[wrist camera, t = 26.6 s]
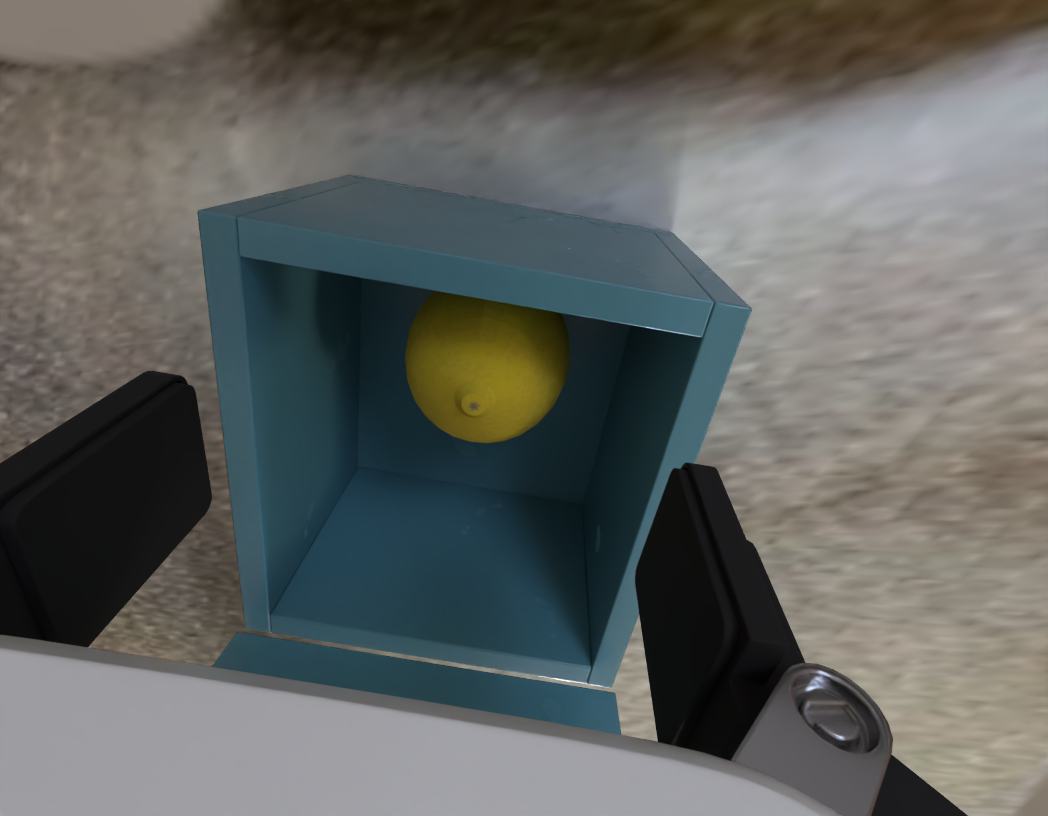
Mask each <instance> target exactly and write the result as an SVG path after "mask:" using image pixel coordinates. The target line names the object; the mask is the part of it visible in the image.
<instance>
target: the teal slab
mask: <svg viewBox="0 0 1048 816" xmlns="http://www.w3.org/2000/svg"><path fill="white" fill-rule="evenodd" d="M212 667H217V668H223V669H229V670H235V671H242V672H248V673H254V674H260V675H267V676H273V677H279V678H285V679H292V680H298V681H304V682H310V683H317V684H323V685H329V686H335V687H341V688H348V689H354V690H360V691H366V692H372V693H378V694H385V695H391V696H397V697H403V698H409V699H415V700H421V701H427V702H433V703H439V704H445V705H451V706H457V707H463V708H469V709H475V710H481V711H487V712H493V713H499V714H505V715H511V716H517V717H523V718H529V719H535V720H541V721H547V722H553V723H559V724H564V725H570V726H575V727H581V728H586V729H591V730H597V731H602V732H608V733H613V734H619V735H621V729H620V722H619V715H618V708H617V701H616V695H615V693H613V692H607V691H600V690H594V689H588V688H582V687H576V686H569V685H563V684H557V683H551V682H545V681H538V680H532V679H526V678H520V677H514V676H507V675H501V674H495V673H489V672H483V671H476V670H470V669H464V668H458V667H452V666H445V665H439V664H433V663H427V662H421V661H414V660H408V659H402V658H396V657H390V656H383V655H377V654H371V653H365V652H359V651H352V650H346V649H340V648H334V647H328V646H321V645H315V644H309V643H303V642H297V641H290V640H284V639H278V638H272V637H266V636H259V635H253V634H247V633H241V632H237V633H236V635H235V636H234V638H233V639H232V640H231V642H230V643H229V644H228V646H227V647H226V648H225V650H224V651H223V652H222V654H221V655H220V656H219V658H218V659H217V661H216V662H215V663H214V665H213V666H212Z"/></svg>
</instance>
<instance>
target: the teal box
mask: <svg viewBox="0 0 1048 816" xmlns="http://www.w3.org/2000/svg"><path fill="white" fill-rule="evenodd" d="M198 221H199V230H200V239H201V248H202V256H203V265H204V274H205V282H206V291H207V300H208V308H209V317H210V326H211V334H212V343H213V352H214V361H215V369H216V378H217V387H218V395H219V404H220V413H221V421H222V430H223V439H224V448H225V456H226V465H227V474H228V482H229V491H230V500H231V508H232V517H233V526H234V535H235V543H236V552H237V561H238V569H239V578H240V587H241V595H242V604H243V613H244V621H245V628H246V629H250V630H256V631H262V632H272V633H274V634H281V635H287V636H293V637H299V638H305V639H312V640H318V641H324V642H330V643H336V644H343V645H349V646H355V647H361V648H367V649H373V650H380V651H386V652H392V653H398V654H404V655H411V656H417V657H423V658H429V659H435V660H442V661H448V662H454V663H460V664H466V665H473V666H479V667H485V668H491V669H497V670H504V671H510V672H516V673H522V674H528V675H534V676H541V677H547V678H553V679H559V680H565V681H572V682H578V683H584V684H585V683H586V682H587V684H589V685H596V686H602V687H608V688H612V686H613V683H614V680H615V677H616V675H617V672H618V669H619V667H620V664H621V661H622V659H623V656H624V653H625V650H626V648H627V645H628V642H629V640H630V637H631V634H632V632H633V629H634V626H635V624H636V621H637V618H638V615H639V608H638V601H637V594H636V588H635V572H636V567H637V564H638V561H639V558H640V556H641V553H642V550H643V547H644V545H645V542H646V539H647V536H648V534H649V531H650V528H651V525H652V523H653V520H654V517H655V514H656V511H657V509H658V506H659V503H660V500H661V498H662V495H663V492H664V489H665V487H666V484H667V481H668V478H669V476H670V473H671V471H672V470H673V468H679V469H681V467H682V466H683V464H684V463H686V462H687V463H693V464H695V462H696V459H697V456H698V454H699V451H700V448H701V446H702V443H703V440H704V437H705V435H706V432H707V429H708V427H709V424H710V421H711V419H712V416H713V413H714V410H715V408H716V405H717V402H718V400H719V397H720V394H721V392H722V389H723V386H724V384H725V381H726V378H727V375H728V373H729V370H730V367H731V365H732V362H733V359H734V357H735V354H736V351H737V348H738V346H739V343H740V340H741V338H742V335H743V332H744V330H745V327H746V324H747V322H748V319H749V316H750V313H751V311H752V308H751V307H750V306H749V305H748V304H746V303H745V302H744V301H743V300H742V299H741V298H740V297H739V296H738V295H737V294H736V293H735V292H734V291H733V290H732V289H731V288H730V287H729V286H728V285H727V284H726V283H725V282H724V281H723V280H722V279H720V278H719V277H718V276H717V275H716V274H715V273H714V272H713V271H712V270H711V269H710V268H709V267H708V266H707V265H706V264H705V263H704V262H703V261H702V260H701V259H700V258H699V257H698V256H697V255H695V254H694V253H693V252H692V251H691V250H690V249H689V248H688V247H687V246H686V245H685V244H684V243H683V242H682V241H681V240H680V239H679V238H678V237H677V236H676V235H675V234H674V233H671V232H665V231H660V230H654V229H649V228H643V227H637V226H632V225H626V224H621V223H615V222H610V221H604V220H599V219H593V218H587V217H582V216H576V215H571V214H565V213H560V212H554V211H548V210H543V209H537V208H532V207H526V206H521V205H515V204H509V203H504V202H498V201H493V200H487V199H482V198H476V197H471V196H465V195H459V194H454V193H448V192H443V191H437V190H432V189H426V188H420V187H415V186H409V185H404V184H398V183H393V182H387V181H382V180H376V179H370V178H365V177H359V176H354V175H346V176H342V177H339V178H334V179H330V180H326V181H322V182H317V183H313V184H309V185H304V186H300V187H296V188H292V189H287V190H283V191H279V192H275V193H270V194H266V195H262V196H258V197H253V198H249V199H245V200H240V201H236V202H232V203H228V204H223V205H219V206H215V207H211V208H206V209H202V210H199V211H198ZM434 291H440V292H445V293H451V294H457V295H462V296H468V297H474V298H480V299H485V300H491V301H497V302H502V303H508V304H514V305H519V306H525V307H531V308H536V309H542V310H548V311H553V312H559V313H561V314H562V317H563V320H564V322H565V325H566V328H567V331H568V334H569V346H570V362H569V367H568V372H567V377H566V381H565V384H564V386H563V388H562V390H561V392H560V394H559V396H558V398H557V400H556V403H555V404H554V406H553V407H552V408H551V410H550V411H549V412H548V413H547V414H546V415H545V416H544V417H543V419H542V420H541V421H540V422H539V423H538V424H537V425H535V426H534V427H532V428H531V429H529V430H528V431H526V432H525V433H523V434H522V435H520V436H517V437H514V438H512V439H509V440H506V441H501V442H493V443H479V442H469V441H466V440H463V439H460V438H456V437H453V436H452V435H450V434H448V433H446V432H445V431H443V430H441V429H440V428H438V427H437V426H436V425H435V424H434V423H433V422H432V421H430V420H429V419H428V418H427V417H426V416H425V415H424V413H423V412H422V410H421V409H420V408H419V406H418V405H417V403H416V402H415V400H414V397H413V395H412V392H411V389H410V386H409V384H408V381H407V372H406V361H405V353H406V347H407V342H408V336H409V330H410V327H411V325H412V323H413V321H414V319H415V317H416V315H417V313H418V311H419V309H420V307H421V305H422V304H423V303H424V302H425V301H426V300H427V298H428V297H429V296H430V295H431V294H432V293H433V292H434Z"/></svg>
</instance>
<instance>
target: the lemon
mask: <svg viewBox="0 0 1048 816" xmlns="http://www.w3.org/2000/svg"><path fill="white" fill-rule="evenodd" d="M405 361H406V372H407V381H408V384H409V386H410V389H411V392H412V395H413V397H414V400H415V402H416V403H417V405H418V406H419V408H420V409H421V410H422V412H423V413H424V415H425V416H426V417H427V418H428V419H429V420H430V421H432V422H433V423H434V424H435V425H436V426H437V427H438V428H440V429H441V430H443V431H445V432H446V433H448V434H450V435H452V436H453V437H456V438H460V439H463V440H466V441H469V442H479V443H493V442H501V441H506V440H509V439H512V438H514V437H517V436H520V435H522V434H523V433H525V432H526V431H528V430H529V429H531V428H532V427H534V426H535V425H537V424H538V423H539V422H540V421H541V420H542V419H543V417H544V416H545V415H546V414H547V413H548V412H549V411H550V410H551V408H552V407H553V406H554V404H555V403H556V400H557V398H558V396H559V394H560V392H561V390H562V388H563V386H564V384H565V381H566V377H567V372H568V367H569V362H570V346H569V334H568V331H567V328H566V325H565V322H564V320H563V317H562V314H561V313H559V312H553V311H548V310H542V309H536V308H531V307H525V306H519V305H514V304H508V303H502V302H497V301H491V300H485V299H480V298H474V297H468V296H462V295H457V294H451V293H445V292H440V291H434V292H433V293H432V294H431V295H430V296H429V297H428V298H427V300H426V301H425V302H424V303H423V304H422V305H421V307H420V309H419V311H418V313H417V315H416V317H415V319H414V321H413V323H412V325H411V327H410V330H409V336H408V342H407V347H406V353H405Z"/></svg>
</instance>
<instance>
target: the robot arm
mask: <svg viewBox="0 0 1048 816" xmlns="http://www.w3.org/2000/svg"><path fill="white" fill-rule="evenodd" d="M211 499H212V493H211V486H210V480H209V474H208V467H207V461H206V455H205V449H204V442H203V436H202V430H201V423H200V417H199V411H198V404H197V398H196V392H195V389H194V388H193V386H191V385H188V383H187V381H186V379H185V378H184V377H182V376H179V375H173V374H168V373H162V372H156V371H147V372H144V373H142V374H141V375H139V376H138V377H136V378H134V379H133V380H131V381H130V382H128V383H126V384H125V385H123V386H122V387H120V388H119V389H117V390H115V391H114V392H112V393H111V394H109V395H108V396H106V397H104V398H103V399H101V400H100V401H98V402H96V403H95V404H93V405H92V406H90V407H89V408H87V409H85V410H84V411H82V412H81V413H79V414H78V415H76V416H74V417H73V418H71V419H70V420H68V421H66V422H65V423H63V424H62V425H60V426H59V427H57V428H55V429H54V430H52V431H51V432H49V433H48V434H46V435H44V436H43V437H41V438H40V439H38V440H36V441H35V442H33V443H32V444H30V445H29V446H27V447H25V448H24V449H22V450H21V451H19V452H18V453H16V454H14V455H13V456H11V457H10V458H8V459H6V460H5V461H3V462H2V463H0V816H968V815H966V814H965V813H964V812H963V811H961V810H960V809H959V808H958V807H956V806H955V805H954V804H953V803H951V802H950V801H949V800H948V799H946V798H945V797H944V796H943V795H941V794H940V793H939V792H938V791H936V790H935V789H934V788H933V787H931V786H930V785H929V784H928V783H926V782H925V781H924V780H923V779H921V778H920V777H919V776H918V775H916V774H915V773H914V772H913V771H911V770H910V769H909V768H908V767H906V766H905V765H904V764H903V763H901V762H900V761H899V760H898V759H896V758H895V757H894V756H893V755H891V753H892V743H893V737H892V734H891V731H890V727H889V724H888V722H887V720H886V718H885V717H884V715H883V713H882V712H881V710H880V708H879V707H878V705H877V704H876V703H875V702H874V701H873V700H872V699H871V697H870V696H869V695H868V694H867V693H866V692H865V691H864V690H863V689H862V688H860V687H859V686H858V685H857V684H855V683H854V682H853V681H852V680H850V679H849V678H847V677H846V676H844V675H842V674H840V673H839V672H837V671H835V670H833V669H830V668H828V667H825V666H822V665H819V664H812V663H805V661H804V658H803V656H802V654H801V651H800V649H799V647H798V645H797V642H796V640H795V638H794V635H793V633H792V631H791V628H790V626H789V624H788V621H787V619H786V617H785V614H784V612H783V610H782V607H781V605H780V603H779V601H778V598H777V596H776V594H775V591H774V589H773V587H772V584H771V582H770V580H769V577H768V575H767V573H766V570H765V568H764V566H763V563H762V561H761V559H760V557H759V554H758V552H757V550H756V548H755V546H754V545H753V543H751V542H750V541H748V540H746V538H745V535H744V533H743V530H742V528H741V526H740V523H739V521H738V518H737V516H736V514H735V511H734V509H733V506H732V504H731V502H730V499H729V497H728V495H727V492H726V490H725V487H724V485H723V483H722V480H721V478H720V475H719V473H718V471H717V469H716V468H715V467H711V466H705V465H699V464H693V463H687V462H686V463H684V464H683V466H682V467H681V469H679V468H673V470H672V471H671V473H670V476H669V478H668V481H667V484H666V487H665V489H664V492H663V495H662V498H661V500H660V503H659V506H658V509H657V511H656V514H655V517H654V520H653V523H652V525H651V528H650V531H649V534H648V536H647V539H646V542H645V545H644V547H643V550H642V553H641V556H640V558H639V561H638V564H637V567H636V572H635V588H636V594H637V601H638V608H639V615H640V622H641V628H642V635H643V642H644V649H645V656H646V663H647V669H648V676H649V683H650V690H651V697H652V704H653V710H654V717H655V724H656V731H657V738H658V742H656V741H651V740H646V739H640V738H635V737H629V736H624V735H619V734H613V733H608V732H602V731H597V730H591V729H586V728H581V727H575V726H570V725H564V724H559V723H553V722H547V721H541V720H535V719H529V718H523V717H517V716H511V715H505V714H499V713H493V712H487V711H481V710H475V709H469V708H463V707H457V706H451V705H445V704H439V703H433V702H427V701H421V700H415V699H409V698H403V697H397V696H391V695H385V694H378V693H372V692H366V691H360V690H354V689H348V688H341V687H335V686H329V685H323V684H317V683H310V682H304V681H298V680H292V679H285V678H279V677H273V676H267V675H260V674H254V673H248V672H242V671H235V670H229V669H223V668H217V667H210V666H204V665H198V664H191V663H185V662H178V661H172V660H165V659H159V658H152V657H146V656H140V655H133V654H127V653H120V652H114V651H107V650H101V649H94V648H88V646H89V645H90V644H91V643H92V642H93V641H94V640H95V638H96V637H97V636H98V635H99V634H100V633H101V632H102V630H103V629H104V628H105V627H106V626H107V625H108V624H109V623H110V621H111V620H112V619H113V618H114V617H115V616H116V615H117V613H118V612H119V611H120V610H121V609H122V608H123V607H124V605H125V604H126V603H127V602H128V601H129V600H130V599H131V598H132V596H133V595H134V594H135V593H136V592H137V591H138V590H139V588H140V587H141V586H142V585H143V584H144V583H145V582H146V581H147V579H148V578H149V577H150V576H151V575H152V574H153V573H154V571H155V570H156V569H157V568H158V567H159V566H160V565H161V564H162V562H163V561H164V560H165V559H166V558H167V557H168V556H169V554H170V553H171V552H172V551H173V550H174V549H175V548H176V546H177V545H178V544H179V543H180V542H181V541H182V540H183V539H184V537H185V536H186V535H187V534H188V533H189V532H190V531H191V529H192V528H193V527H194V526H195V525H196V524H197V523H198V522H199V520H200V519H201V518H202V517H203V516H204V515H205V513H206V512H207V511H208V509H209V507H210V504H211Z"/></svg>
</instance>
